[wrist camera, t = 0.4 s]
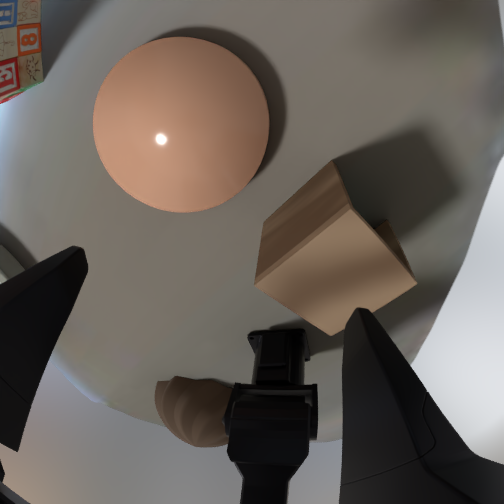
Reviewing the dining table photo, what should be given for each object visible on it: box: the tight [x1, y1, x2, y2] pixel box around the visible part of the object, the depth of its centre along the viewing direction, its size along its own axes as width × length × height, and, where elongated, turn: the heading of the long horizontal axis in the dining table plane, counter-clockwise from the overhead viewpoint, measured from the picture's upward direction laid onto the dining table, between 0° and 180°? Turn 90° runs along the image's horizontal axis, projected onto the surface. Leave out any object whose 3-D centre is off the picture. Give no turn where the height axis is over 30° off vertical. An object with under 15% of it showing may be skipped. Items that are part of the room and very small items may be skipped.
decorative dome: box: [155, 376, 232, 447], centre depth 43 cm, size 19×20×10 cm
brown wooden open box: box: [254, 160, 417, 336], centre depth 19 cm, size 7×7×7 cm
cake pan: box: [0, 244, 25, 284], centre depth 33 cm, size 25×25×4 cm
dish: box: [93, 37, 270, 212], centre depth 17 cm, size 13×13×1 cm
